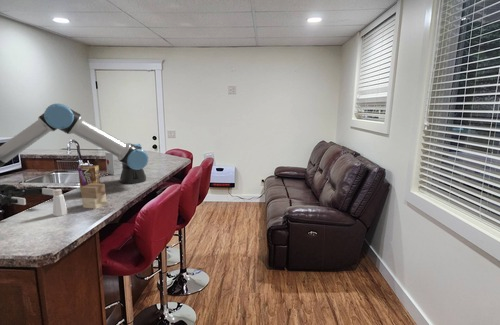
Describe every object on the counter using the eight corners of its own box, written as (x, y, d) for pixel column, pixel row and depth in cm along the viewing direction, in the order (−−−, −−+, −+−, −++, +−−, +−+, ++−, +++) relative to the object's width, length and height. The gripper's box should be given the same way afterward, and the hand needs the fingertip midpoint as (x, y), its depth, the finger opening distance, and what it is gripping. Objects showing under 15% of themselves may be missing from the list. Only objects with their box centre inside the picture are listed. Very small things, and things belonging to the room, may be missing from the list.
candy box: (101, 193, 154) (99, 165, 151) (97, 195, 150) (94, 167, 147) (85, 192, 154) (82, 165, 151) (80, 195, 150) (77, 166, 147)
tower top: (91, 193, 138) (90, 183, 137) (105, 193, 137) (104, 183, 136) (82, 197, 131) (80, 187, 130) (96, 198, 131) (95, 187, 130)
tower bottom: (94, 202, 140) (93, 193, 139) (106, 204, 138) (105, 194, 137) (82, 207, 133) (81, 197, 132) (95, 209, 131) (94, 198, 130)
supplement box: (106, 173, 197) (104, 152, 194) (118, 171, 204) (117, 150, 201) (113, 175, 192) (112, 153, 189) (126, 173, 199) (124, 151, 196)
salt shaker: (70, 211, 127) (67, 187, 125) (63, 216, 122) (60, 191, 120) (58, 211, 127) (55, 187, 125) (50, 216, 122) (46, 191, 120)
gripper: (30, 192, 143) (65, 196, 138) (-28, 209, 119) (11, 215, 114) (28, 177, 142) (63, 181, 137) (-31, 192, 118) (9, 197, 113)
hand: (40, 196), depth 125 cm, fingers open, 13 cm apart
